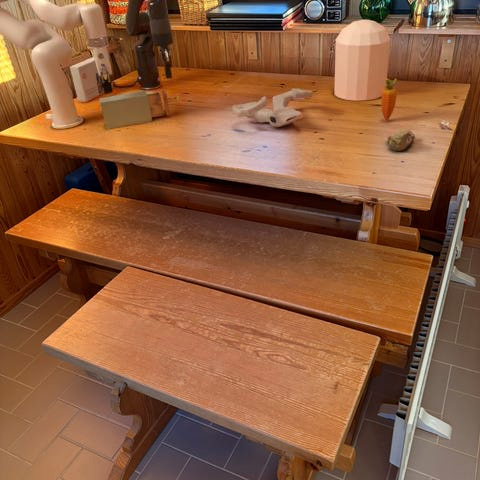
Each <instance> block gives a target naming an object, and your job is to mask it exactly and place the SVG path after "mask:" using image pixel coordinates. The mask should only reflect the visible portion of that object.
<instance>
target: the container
mask: <svg viewBox="0 0 480 480" xmlns="http://www.w3.org/2000/svg"><path fill="white" fill-rule="evenodd" d="M335 38H336V39H335V47H334V49H335V52H334V53H335V55H334V87H333V89H334V94H333V95H334V96H335V97H337V98H339V99H342V100H345V101H357V102H358V101H370V100H375V99H378V98H382V91H383V90H384V89H386V88H387V87H386V85H387V83H386V79H388V71H389V70H388V69H389V68H388V67H389V58H390V48H391V37H390V35H389V33H388V31H387V29H386V28H385V26H384V25H382V24H380V23H379V22H377V21H375V20H371V19H359V20H354V21H352V22H351V23H349V24H348V25H347V26H345V27H344V28H342V29H341V31H340V32H339V34H338V35H337V37H335Z"/></svg>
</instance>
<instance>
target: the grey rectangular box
mask: <svg viewBox="0 0 480 480" xmlns="http://www.w3.org/2000/svg"><path fill="white" fill-rule="evenodd" d="M147 94H148V93H147V90H143V91H136V92H130V93H123V94H117V95H112V96H105V97H99V104H100V109H101V112H102V116H103V120H104V124H105V128H106V130H109V129H110V130H111V129H116V128H122V127H127V126H133V125H137V124H143V123H150V122H153V117H151V112H150V107H149V102H148V97H147Z"/></svg>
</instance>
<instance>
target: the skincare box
mask: <svg viewBox="0 0 480 480" xmlns="http://www.w3.org/2000/svg"><path fill="white" fill-rule="evenodd" d="M69 70H70V74H71V78H72V82H73V86H74V90H75V94H76V98H77V102H81V103H82V102H84V103H87V102H89V101H91V100H93V99H95V98H97V97H100V96H101V95H103V94H105V93H104V89H103V84H102V83H103V82H102V78H101V76H100V75H99V72H98V69H97V66H96V63H95V59H94V56H92V57H90V58H87V59H85V60H83V61H80V62H78V63H75V64H73V65H71V66H69Z"/></svg>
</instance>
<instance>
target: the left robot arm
mask: <svg viewBox="0 0 480 480" xmlns="http://www.w3.org/2000/svg"><path fill="white" fill-rule="evenodd" d="M8 1H9V0H0V4H1V3H4V2H8ZM17 1H18V2H20V3H22V4H24V5H26V6H28V7H29V8H31V9H32V10H33V11H34V13H35V14H36V16H37V17H38V18H39V19H37V18H31V19H27V20H22V19H20V18H18V17H17V16H15V15H14V14H13V13H12V12H10V11H9V10H7V9H5V8H4V7H1V6H0V34H1V36H3V37H4V38H6V39H7V40H8V41H10V42H11V44H13V45H14V46H15V47H17V48H18V49H20V50H22V51H29V50H32V51H31V61H32V63H33V65H34V67H35V69H36V71H37V73H38V75H39V78H40V80H41V83H42V87H43V89H44V92H45V95H46V98H47V101H48V105H49V107H50V111H51V113H46V114H45V119H46V121H52V122H51V126H52V128H54V129H58V130H63V129H69V128H70V129H71V128H75V127H76V126H79V125H81V124H82V123H83V122H84V118H83V116H81V115H79V114H78V111H77V107H76V104H75V100H74V97H73V93H72V90H71V86H70V83H69V80H68V78H67V75H66V74H65V71H64V69H62V67H61V66H62V65H64V64H67V63H68V62H69V61H70V60H71V59H72V57H73V55H74V52H73V48H72V46H71V44H70V43H69V42H68V41H67V40H66V38H64V36H62V35H60V34H59V33H58V32H57V31H56V30H55V29H58V30H60V31H63V32H68V31H72V30H74V29H77V28H79V27H82V26H83V30H84V35H85V39H86V43H87V48H88V49H91V50H92V54H93V57H94V59H95V63H96V66H97V69H98V72H99V75H100V76H101V78H102V82H103V83H102V84H103V89H104V93H103V94H112V93H114V89H113V83H112V82H111V81H112V80H111V76H112V75H113V69H112V65H111V59H110V54H109V50H108V47H110V43H109V38H108V37H109V36H108V32H107V27H106V23H105V18H104V12H103V9H102V7H101V5H100V4H98V3H88V4H85V3H81V2H79V3H78V2H75V3H70V4H66V5H62V6H59V5H56V4H54V3H52V2H51V1H50V0H17ZM52 27H53V28H55V29H53V28H52Z"/></svg>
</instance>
